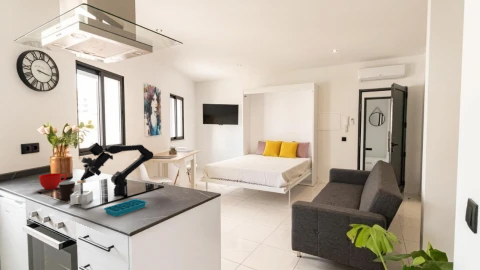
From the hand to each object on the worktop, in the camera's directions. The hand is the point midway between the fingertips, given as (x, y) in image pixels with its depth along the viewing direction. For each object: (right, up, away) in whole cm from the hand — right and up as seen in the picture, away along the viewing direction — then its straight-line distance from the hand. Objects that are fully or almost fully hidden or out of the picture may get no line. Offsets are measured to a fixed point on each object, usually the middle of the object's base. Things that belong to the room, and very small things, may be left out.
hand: (80, 180), depth 148 cm
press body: (+1, -14, -1) cm, 14 cm away
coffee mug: (-14, -13, +11) cm, 23 cm away
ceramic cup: (-43, -12, +34) cm, 56 cm away
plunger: (0, -9, +1) cm, 9 cm away
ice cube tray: (+33, -15, -12) cm, 38 cm away
